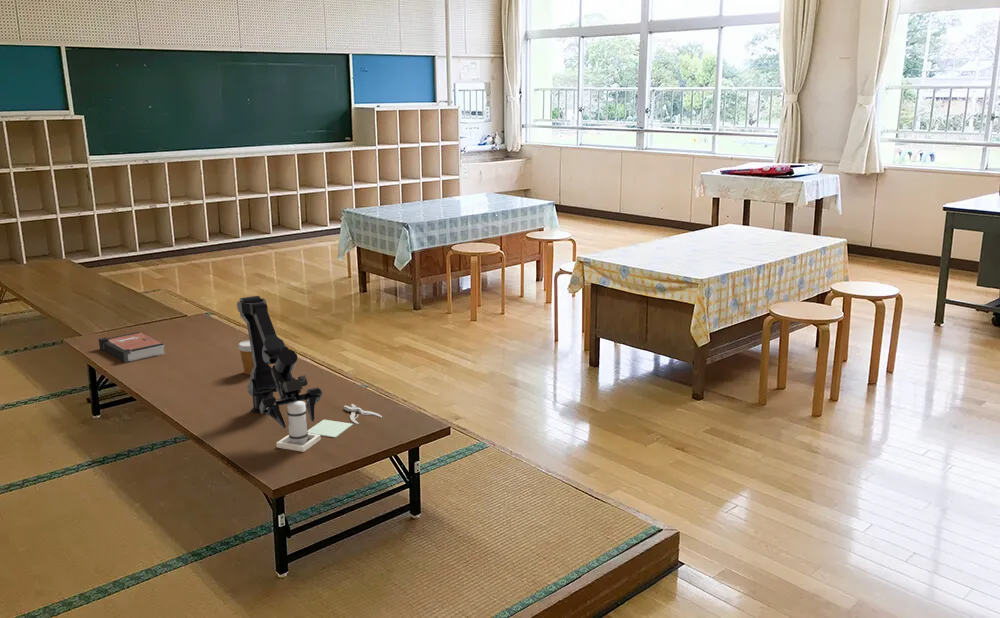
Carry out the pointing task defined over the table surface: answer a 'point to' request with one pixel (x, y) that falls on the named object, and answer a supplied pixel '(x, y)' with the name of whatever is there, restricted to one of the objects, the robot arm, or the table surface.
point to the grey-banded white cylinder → (297, 422)
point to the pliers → (357, 409)
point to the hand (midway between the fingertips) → (299, 424)
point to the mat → (329, 428)
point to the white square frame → (285, 445)
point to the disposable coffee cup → (246, 356)
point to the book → (132, 347)
